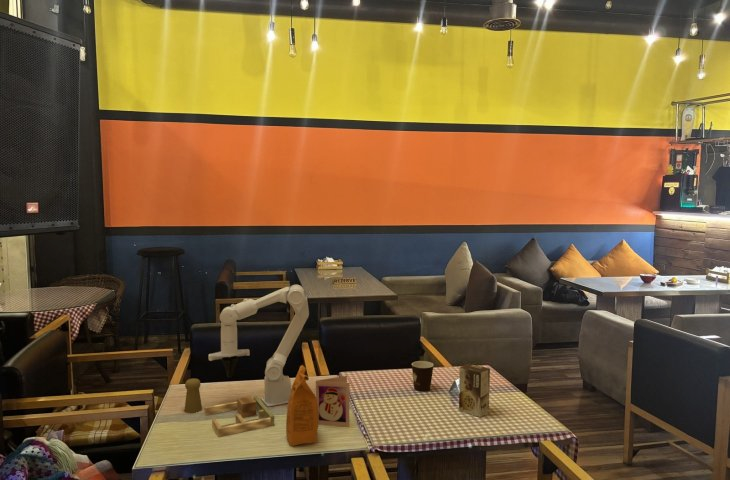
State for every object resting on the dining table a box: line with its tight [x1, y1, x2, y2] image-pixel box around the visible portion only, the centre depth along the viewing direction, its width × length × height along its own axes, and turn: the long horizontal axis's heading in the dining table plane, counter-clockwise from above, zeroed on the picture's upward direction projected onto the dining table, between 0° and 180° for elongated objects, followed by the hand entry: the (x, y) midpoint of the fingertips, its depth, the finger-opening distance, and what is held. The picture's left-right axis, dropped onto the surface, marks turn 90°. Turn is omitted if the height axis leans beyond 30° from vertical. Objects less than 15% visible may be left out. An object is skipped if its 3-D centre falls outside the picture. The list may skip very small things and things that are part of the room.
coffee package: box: [285, 364, 319, 447], centre depth 168 cm, size 10×12×22 cm
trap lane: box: [204, 395, 275, 437], centre depth 182 cm, size 18×20×3 cm
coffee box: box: [458, 363, 491, 418], centre depth 190 cm, size 9×6×16 cm
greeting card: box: [315, 375, 351, 428], centre depth 180 cm, size 11×7×15 cm, turn 82°
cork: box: [184, 378, 203, 414], centre depth 189 cm, size 6×6×11 cm
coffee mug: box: [411, 360, 434, 393], centre depth 213 cm, size 12×9×10 cm
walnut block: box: [236, 395, 257, 419], centre depth 186 cm, size 5×6×5 cm
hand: (229, 376), depth 195 cm, fingers closed
